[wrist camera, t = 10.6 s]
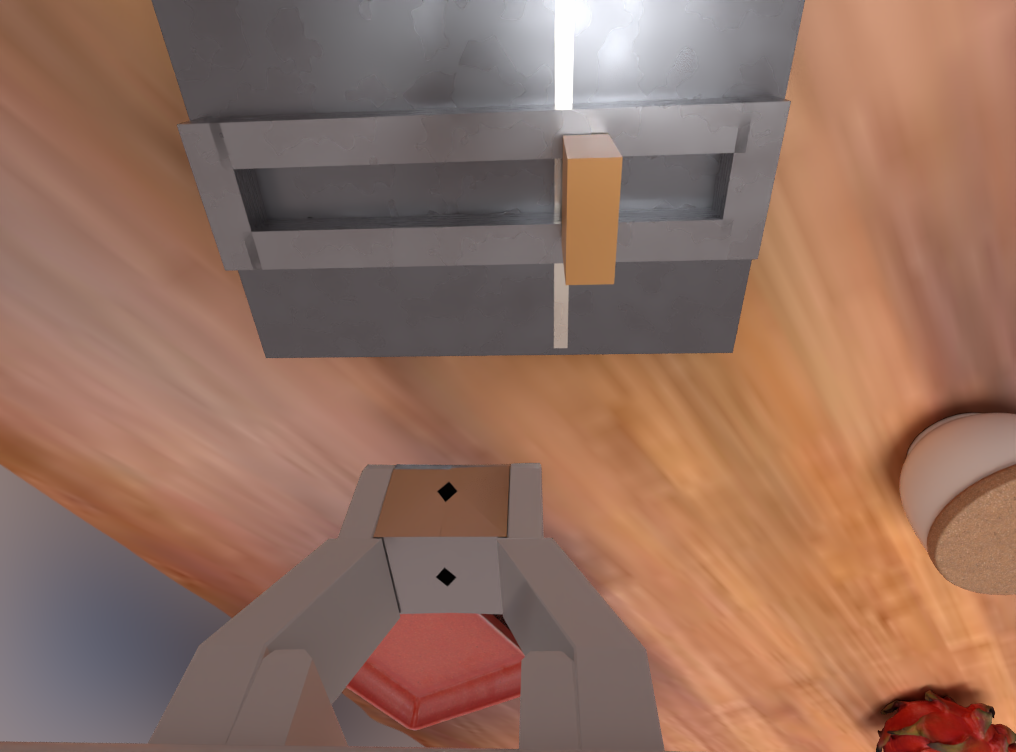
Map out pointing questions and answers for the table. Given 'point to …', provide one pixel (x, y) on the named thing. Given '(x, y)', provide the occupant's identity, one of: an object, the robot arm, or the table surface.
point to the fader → (590, 208)
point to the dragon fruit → (943, 728)
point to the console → (481, 166)
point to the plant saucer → (440, 668)
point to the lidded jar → (966, 499)
